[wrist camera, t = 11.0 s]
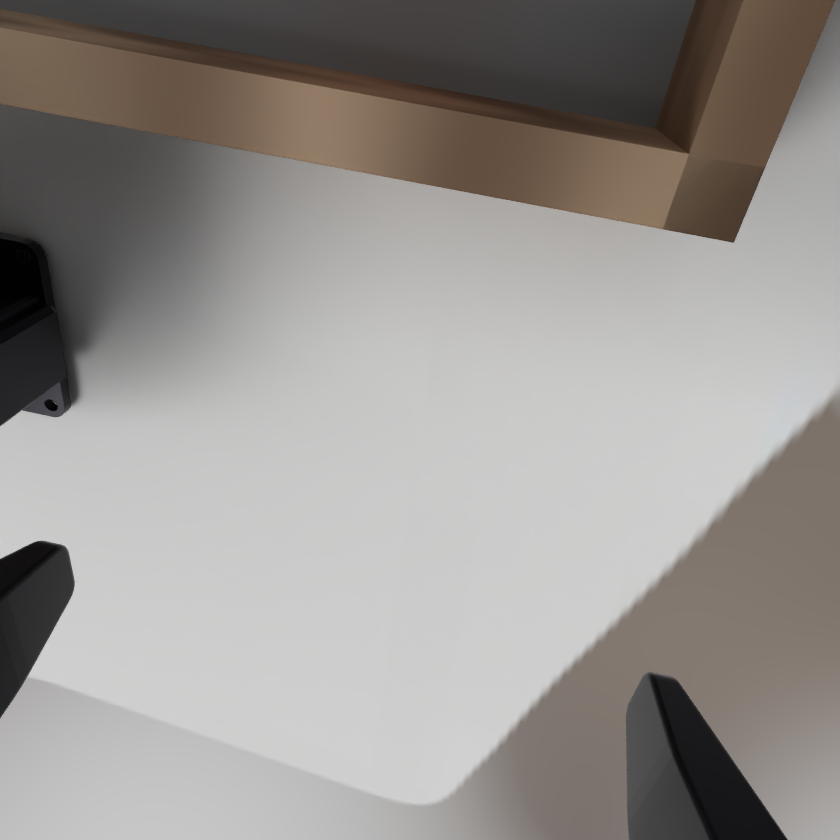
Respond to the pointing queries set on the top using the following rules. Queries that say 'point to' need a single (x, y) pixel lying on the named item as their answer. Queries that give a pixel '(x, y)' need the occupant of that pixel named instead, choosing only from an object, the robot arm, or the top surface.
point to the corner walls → (452, 114)
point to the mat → (436, 42)
